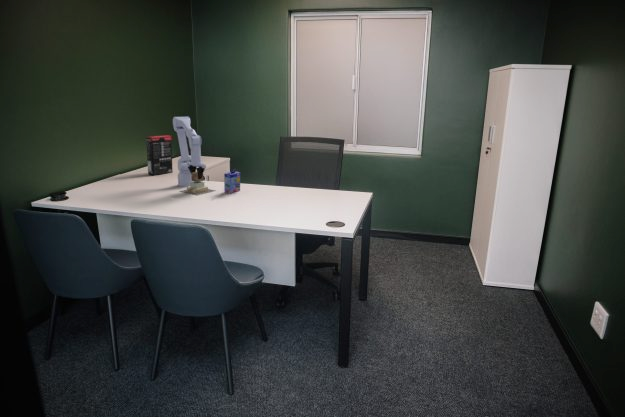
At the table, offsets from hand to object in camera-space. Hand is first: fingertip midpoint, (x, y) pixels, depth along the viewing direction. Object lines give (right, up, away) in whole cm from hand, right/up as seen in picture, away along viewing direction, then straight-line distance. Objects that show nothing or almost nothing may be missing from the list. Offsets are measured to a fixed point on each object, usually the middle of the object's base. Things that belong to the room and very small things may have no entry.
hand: (196, 178), depth 271 cm
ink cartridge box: (+21, -8, +4) cm, 23 cm away
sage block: (0, -5, +1) cm, 6 cm away
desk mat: (0, -8, +2) cm, 8 cm away
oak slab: (0, -8, +2) cm, 8 cm away
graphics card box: (-39, +7, +51) cm, 65 cm away
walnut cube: (0, -1, +1) cm, 2 cm away
